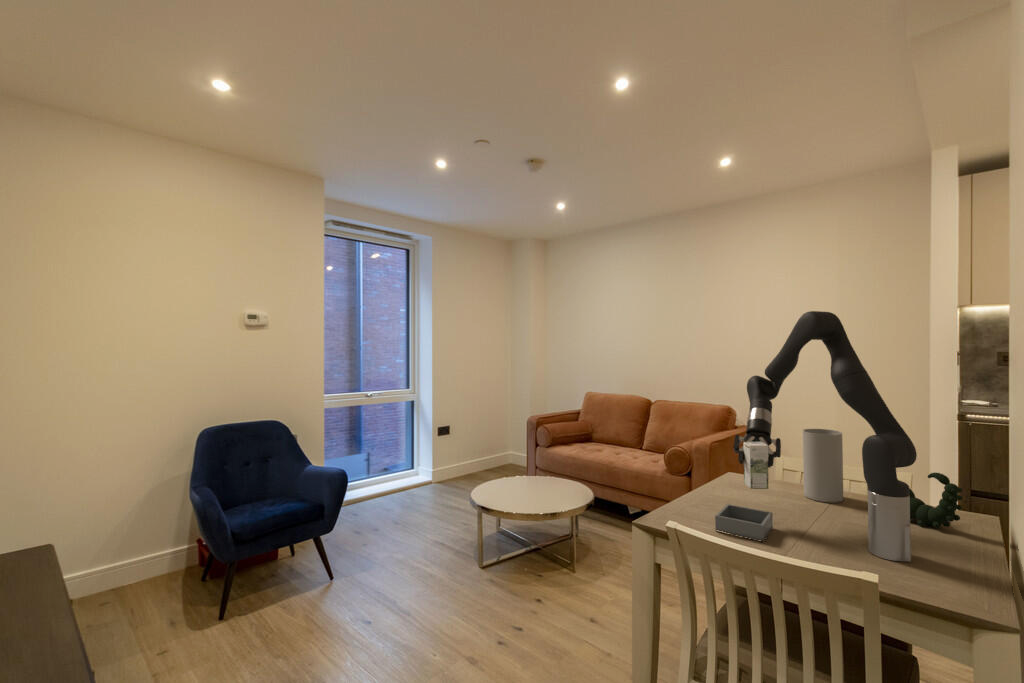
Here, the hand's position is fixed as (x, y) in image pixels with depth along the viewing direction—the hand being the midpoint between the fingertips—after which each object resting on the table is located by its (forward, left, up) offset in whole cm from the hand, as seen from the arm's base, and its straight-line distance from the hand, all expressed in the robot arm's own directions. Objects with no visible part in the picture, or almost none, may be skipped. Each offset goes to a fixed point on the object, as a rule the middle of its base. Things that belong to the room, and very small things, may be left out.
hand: (755, 464), depth 156 cm
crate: (+2, +8, -19) cm, 21 cm away
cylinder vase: (-14, -42, -19) cm, 48 cm away
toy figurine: (-40, -32, -19) cm, 55 cm away
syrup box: (0, -1, -8) cm, 8 cm away
